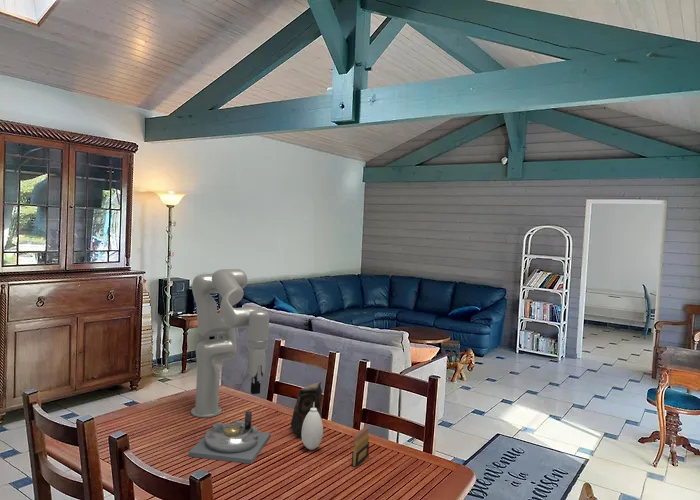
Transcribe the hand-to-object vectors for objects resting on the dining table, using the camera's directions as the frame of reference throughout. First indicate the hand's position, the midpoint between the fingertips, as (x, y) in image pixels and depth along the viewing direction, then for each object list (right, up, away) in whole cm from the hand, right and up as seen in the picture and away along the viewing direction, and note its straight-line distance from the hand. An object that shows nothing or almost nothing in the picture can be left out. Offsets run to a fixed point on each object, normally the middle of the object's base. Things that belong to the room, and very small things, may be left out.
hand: (255, 393), depth 186 cm
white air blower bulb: (+21, -22, +2) cm, 30 cm away
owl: (+17, -21, +18) cm, 32 cm away
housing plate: (-9, -20, 0) cm, 22 cm away
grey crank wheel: (-9, -18, 0) cm, 20 cm away
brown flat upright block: (+39, -23, -5) cm, 45 cm away
